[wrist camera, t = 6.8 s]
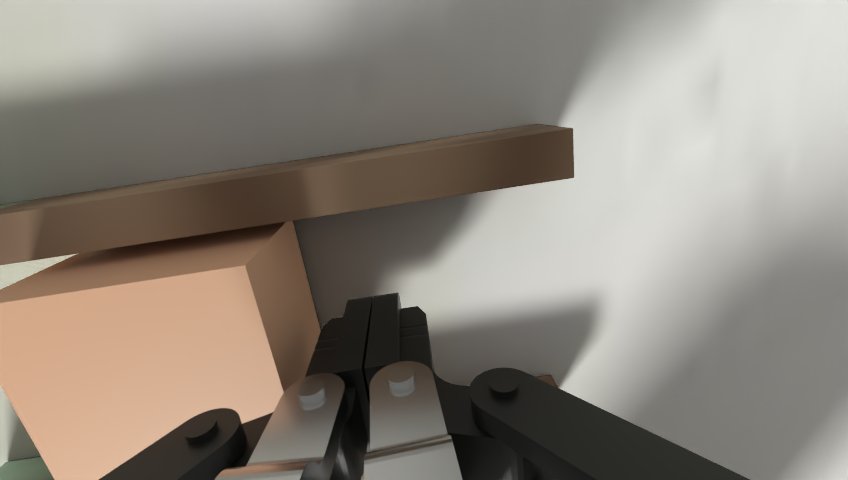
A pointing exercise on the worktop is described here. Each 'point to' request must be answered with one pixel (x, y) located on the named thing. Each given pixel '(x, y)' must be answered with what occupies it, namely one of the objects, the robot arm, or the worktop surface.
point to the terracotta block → (153, 341)
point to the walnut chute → (277, 200)
